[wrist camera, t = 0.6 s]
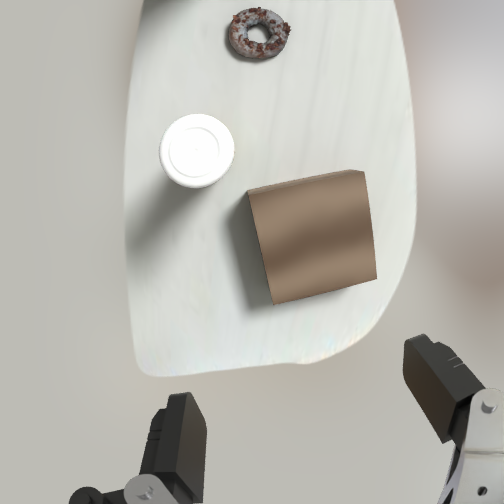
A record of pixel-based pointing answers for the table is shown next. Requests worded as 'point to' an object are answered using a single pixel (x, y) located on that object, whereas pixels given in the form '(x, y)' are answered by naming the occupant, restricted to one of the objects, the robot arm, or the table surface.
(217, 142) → the sprinkles bottle
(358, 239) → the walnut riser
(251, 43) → the donut
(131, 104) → the table surface
